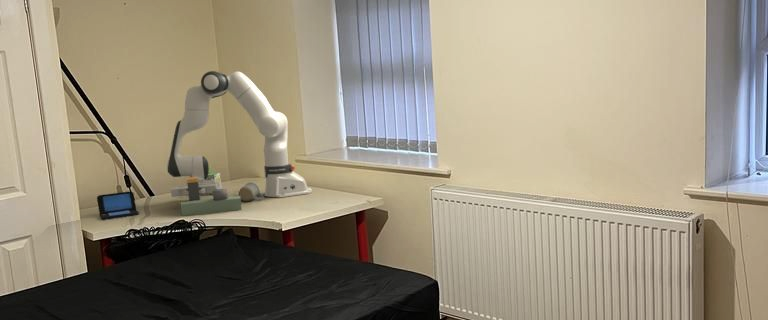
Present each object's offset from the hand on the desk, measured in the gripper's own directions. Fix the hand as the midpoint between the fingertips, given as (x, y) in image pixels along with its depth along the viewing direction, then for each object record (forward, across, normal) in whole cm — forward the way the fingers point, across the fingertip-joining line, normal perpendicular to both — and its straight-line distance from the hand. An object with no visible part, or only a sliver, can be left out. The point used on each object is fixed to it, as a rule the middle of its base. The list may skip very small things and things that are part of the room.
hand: (194, 192), depth 313 cm
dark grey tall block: (-1, 0, +6) cm, 6 cm away
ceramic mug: (-11, +25, +8) cm, 29 cm away
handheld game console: (-8, -33, +9) cm, 35 cm away
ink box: (-38, +8, +8) cm, 40 cm away
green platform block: (+2, +7, +8) cm, 11 cm away
